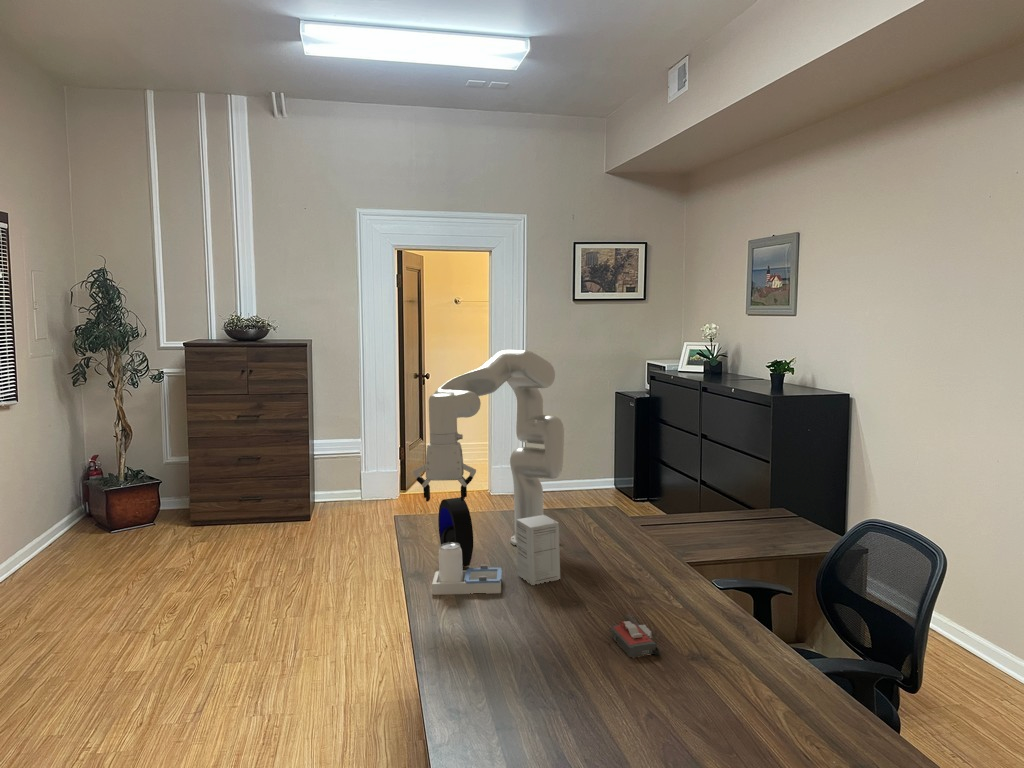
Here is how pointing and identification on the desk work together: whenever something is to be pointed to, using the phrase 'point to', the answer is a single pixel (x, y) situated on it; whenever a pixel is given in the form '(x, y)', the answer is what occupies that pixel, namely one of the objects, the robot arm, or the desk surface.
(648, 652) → the walkie-talkie
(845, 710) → the desk surface
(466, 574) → the block
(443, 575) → the can
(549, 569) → the supplement box
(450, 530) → the headphones
